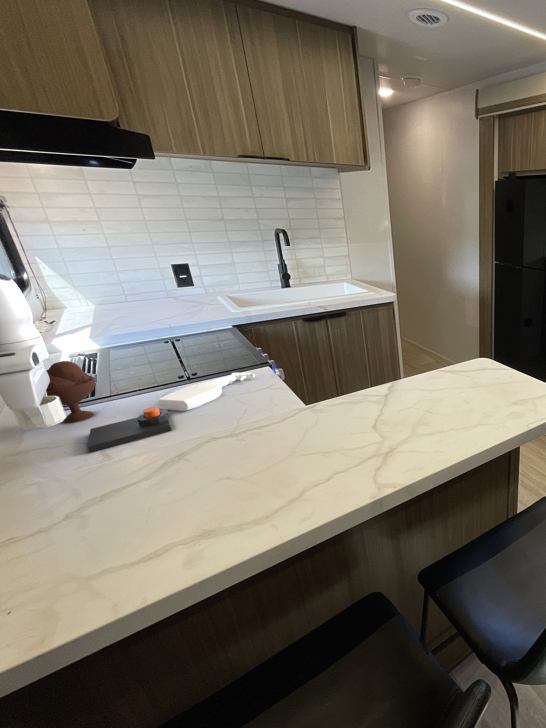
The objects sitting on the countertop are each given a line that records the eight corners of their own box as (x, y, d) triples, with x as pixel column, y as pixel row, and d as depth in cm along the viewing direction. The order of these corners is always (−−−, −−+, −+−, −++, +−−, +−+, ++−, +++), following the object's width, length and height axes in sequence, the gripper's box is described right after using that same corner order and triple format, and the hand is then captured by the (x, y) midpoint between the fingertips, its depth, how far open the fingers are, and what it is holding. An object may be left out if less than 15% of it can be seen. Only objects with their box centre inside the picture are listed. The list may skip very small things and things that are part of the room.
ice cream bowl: (100, 405, 109) (79, 352, 104) (112, 415, 103) (90, 360, 98) (44, 420, 101) (18, 364, 96) (53, 432, 95) (26, 373, 90)
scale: (90, 452, 86) (85, 440, 85) (92, 434, 94) (87, 422, 93) (173, 429, 95) (169, 418, 94) (169, 414, 103) (165, 404, 102)
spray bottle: (155, 409, 106) (231, 377, 128) (189, 412, 104) (260, 379, 126) (151, 399, 105) (228, 368, 127) (186, 402, 103) (258, 370, 125)
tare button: (145, 419, 94) (143, 413, 94) (145, 415, 96) (142, 409, 96) (160, 416, 96) (158, 409, 96) (160, 412, 98) (157, 405, 97)
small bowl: (18, 434, 81) (8, 412, 80) (23, 422, 86) (14, 401, 84) (66, 424, 86) (57, 402, 84) (68, 413, 90) (60, 393, 89)
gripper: (1, 346, 86) (28, 405, 91) (-22, 369, 71) (11, 438, 76) (44, 340, 90) (67, 397, 95) (30, 362, 75) (58, 427, 80)
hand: (42, 416), depth 85 cm, fingers closed on small bowl, 7 cm apart
